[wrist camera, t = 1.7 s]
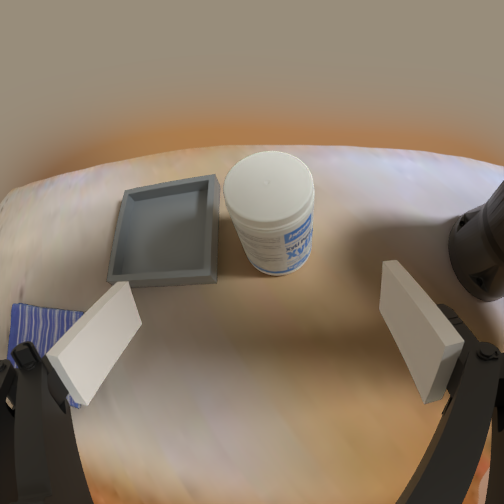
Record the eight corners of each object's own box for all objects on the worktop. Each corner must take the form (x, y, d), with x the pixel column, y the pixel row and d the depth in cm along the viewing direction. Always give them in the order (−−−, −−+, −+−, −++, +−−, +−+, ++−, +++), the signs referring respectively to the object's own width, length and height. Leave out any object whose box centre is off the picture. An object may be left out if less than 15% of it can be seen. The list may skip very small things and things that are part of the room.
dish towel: (20, 303, 46) (11, 299, 43) (91, 312, 42) (81, 307, 40) (11, 378, 39) (2, 376, 36) (83, 409, 35) (72, 409, 33)
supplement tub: (303, 284, 38) (305, 233, 25) (237, 270, 41) (207, 216, 28) (317, 222, 42) (321, 154, 29) (255, 212, 44) (237, 145, 31)
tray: (220, 186, 48) (215, 174, 45) (216, 283, 41) (210, 275, 38) (133, 200, 50) (124, 190, 47) (117, 288, 43) (106, 281, 40)
